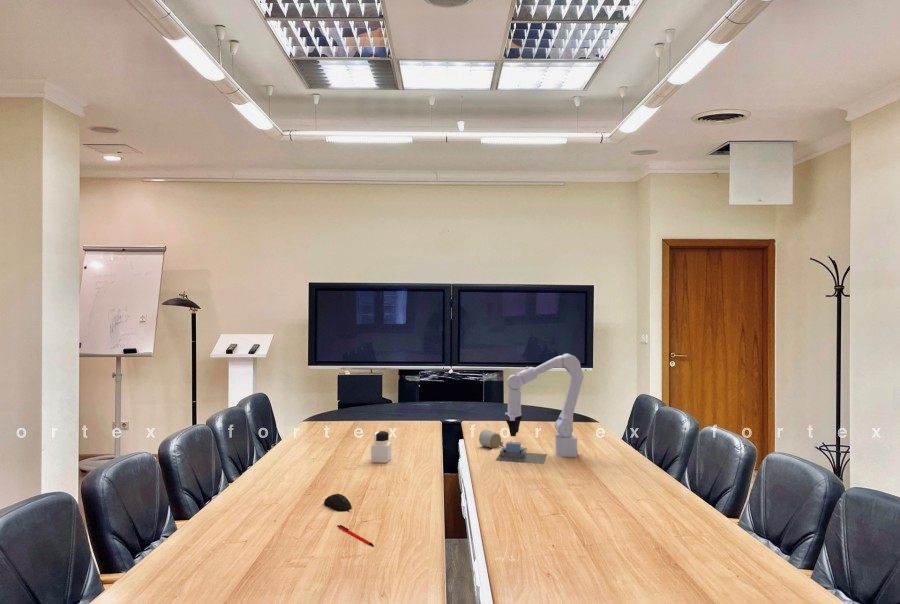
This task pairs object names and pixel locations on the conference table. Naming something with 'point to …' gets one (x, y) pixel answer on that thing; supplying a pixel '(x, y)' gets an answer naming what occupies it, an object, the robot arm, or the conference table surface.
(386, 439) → the medicine bottle
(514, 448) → the servo
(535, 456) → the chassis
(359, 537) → the pen
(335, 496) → the gaming mouse
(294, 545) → the conference table surface
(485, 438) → the ceramic mug
